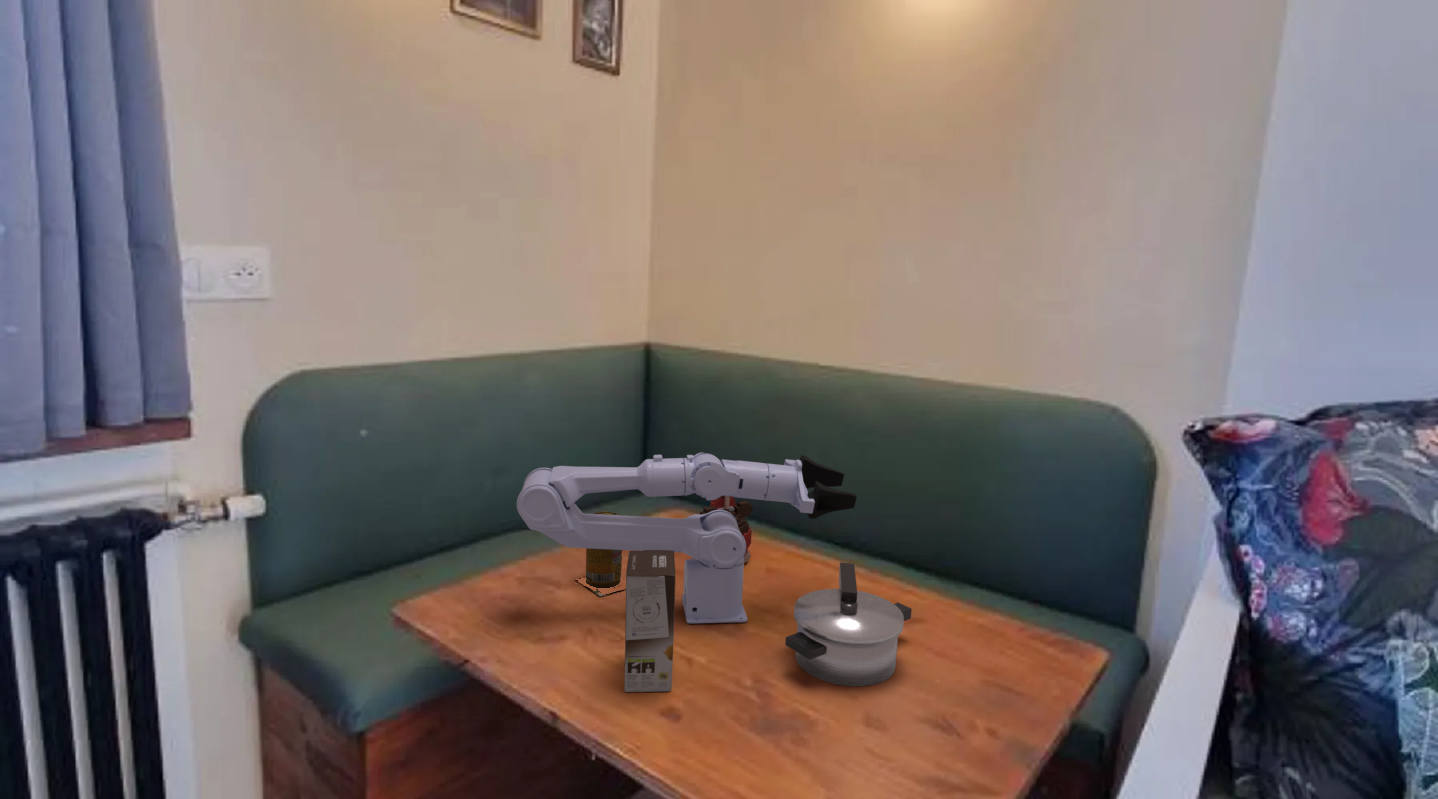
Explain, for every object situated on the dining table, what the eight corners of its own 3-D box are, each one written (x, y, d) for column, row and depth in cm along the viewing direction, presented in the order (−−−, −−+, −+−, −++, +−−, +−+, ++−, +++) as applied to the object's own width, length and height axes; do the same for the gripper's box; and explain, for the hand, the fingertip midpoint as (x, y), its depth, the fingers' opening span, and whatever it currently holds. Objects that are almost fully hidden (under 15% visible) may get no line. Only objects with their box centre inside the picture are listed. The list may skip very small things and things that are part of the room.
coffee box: (673, 692, 102) (676, 575, 99) (623, 693, 102) (625, 575, 99) (671, 657, 111) (674, 549, 108) (625, 657, 111) (627, 548, 108)
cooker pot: (833, 703, 101) (836, 660, 100) (761, 658, 112) (763, 618, 111) (940, 656, 114) (943, 617, 113) (867, 619, 125) (870, 583, 124)
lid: (908, 650, 103) (910, 625, 102) (791, 639, 105) (793, 614, 104) (895, 589, 122) (896, 567, 121) (796, 580, 124) (797, 558, 123)
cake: (713, 573, 141) (717, 476, 138) (687, 556, 149) (690, 463, 145) (762, 563, 146) (766, 469, 143) (734, 546, 154) (738, 457, 151)
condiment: (610, 571, 140) (611, 506, 138) (637, 587, 134) (638, 520, 132) (574, 580, 136) (574, 514, 134) (599, 598, 129) (600, 528, 127)
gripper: (777, 479, 114) (866, 488, 116) (762, 439, 128) (842, 448, 130) (768, 522, 117) (856, 530, 119) (754, 478, 130) (833, 486, 132)
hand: (848, 490), depth 125 cm, fingers open, 7 cm apart
